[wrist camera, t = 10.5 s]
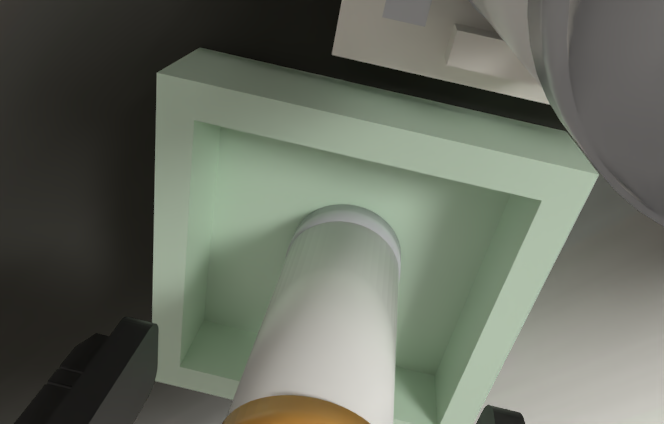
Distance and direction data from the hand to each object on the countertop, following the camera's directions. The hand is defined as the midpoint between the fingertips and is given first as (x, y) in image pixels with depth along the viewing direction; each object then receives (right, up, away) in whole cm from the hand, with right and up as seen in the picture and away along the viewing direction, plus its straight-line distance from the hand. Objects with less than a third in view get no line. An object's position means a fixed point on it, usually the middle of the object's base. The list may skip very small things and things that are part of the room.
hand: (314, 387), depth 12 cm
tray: (+1, +3, +6) cm, 6 cm away
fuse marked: (+1, +3, +5) cm, 6 cm away
